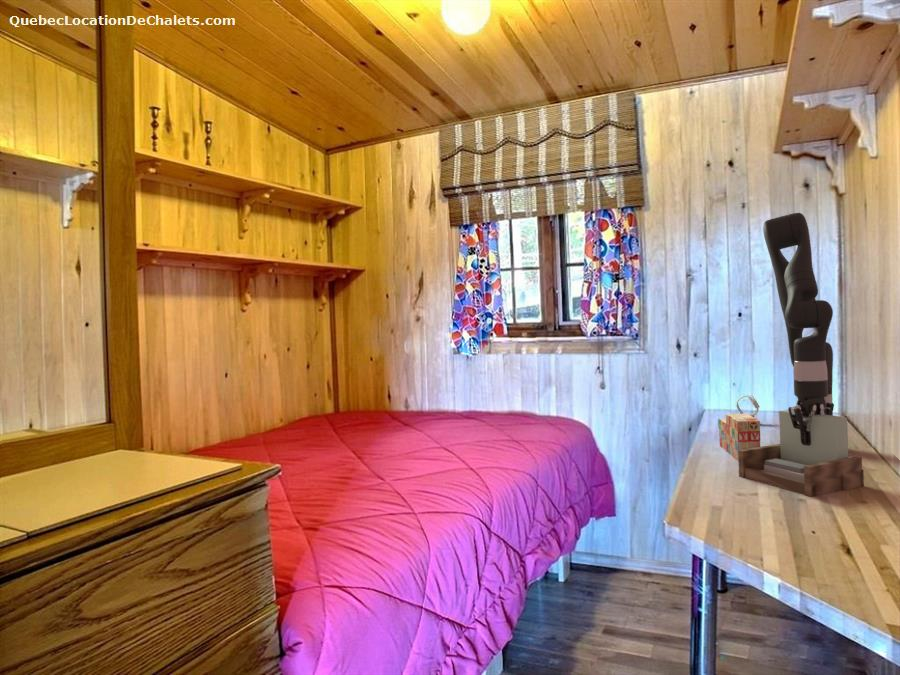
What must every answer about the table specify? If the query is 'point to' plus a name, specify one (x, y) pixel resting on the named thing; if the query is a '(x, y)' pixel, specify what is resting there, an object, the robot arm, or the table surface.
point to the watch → (752, 403)
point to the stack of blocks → (738, 433)
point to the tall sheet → (814, 439)
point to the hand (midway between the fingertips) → (812, 443)
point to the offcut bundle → (785, 468)
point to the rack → (815, 476)
